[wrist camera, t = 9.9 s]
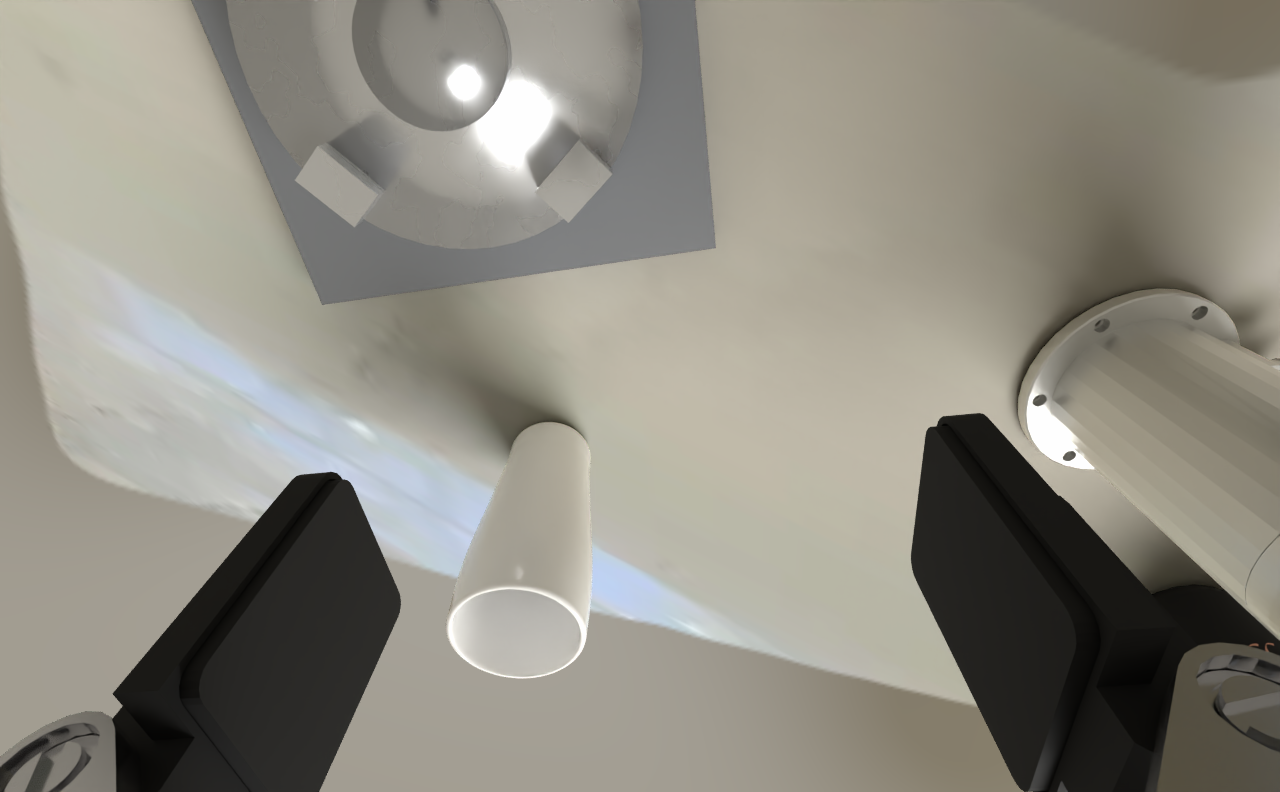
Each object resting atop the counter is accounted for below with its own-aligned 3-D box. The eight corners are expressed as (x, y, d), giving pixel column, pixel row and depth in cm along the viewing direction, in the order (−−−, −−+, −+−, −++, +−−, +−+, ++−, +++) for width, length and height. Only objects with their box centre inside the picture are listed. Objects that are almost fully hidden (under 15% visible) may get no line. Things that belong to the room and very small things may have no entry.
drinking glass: (608, 485, 44) (598, 675, 31) (514, 494, 44) (464, 686, 31) (593, 403, 40) (575, 577, 27) (491, 413, 40) (424, 591, 28)
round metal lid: (196, -201, 24) (-35, -327, 16) (638, -210, 24) (641, -341, 16) (319, 238, 32) (212, 306, 24) (644, 231, 32) (648, 298, 24)
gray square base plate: (662, -324, 24) (665, -355, 22) (711, 237, 35) (716, 249, 33) (128, -215, 25) (87, -235, 23) (337, 292, 36) (320, 306, 34)
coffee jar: (1265, 579, 49) (1561, 831, 33) (1201, 666, 54) (1430, 919, 39) (1132, 578, 49) (1367, 832, 33) (1081, 665, 54) (1263, 919, 38)
